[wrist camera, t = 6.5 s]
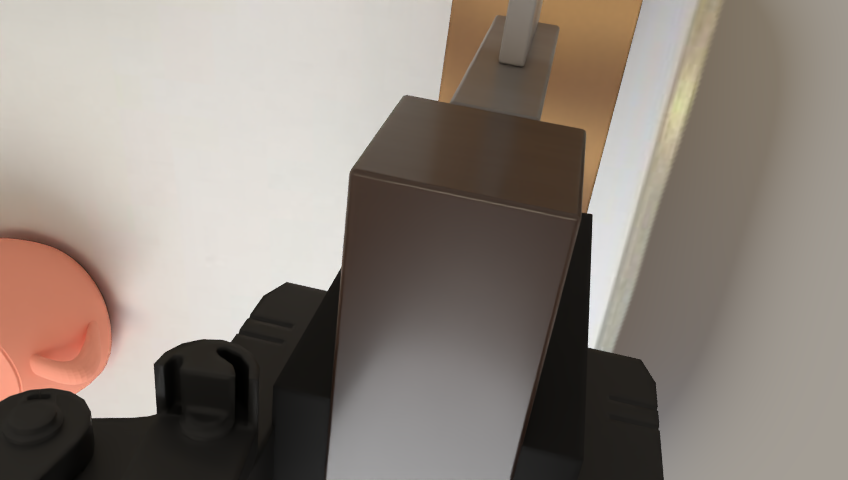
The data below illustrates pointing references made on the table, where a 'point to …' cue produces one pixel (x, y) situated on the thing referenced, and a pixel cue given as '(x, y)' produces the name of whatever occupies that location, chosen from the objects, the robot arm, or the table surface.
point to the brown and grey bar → (455, 269)
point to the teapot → (48, 320)
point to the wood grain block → (559, 63)
